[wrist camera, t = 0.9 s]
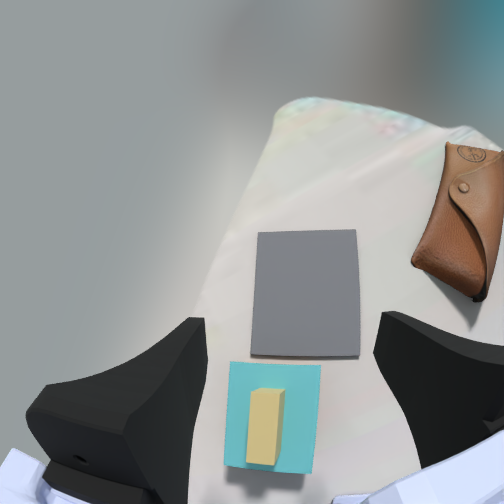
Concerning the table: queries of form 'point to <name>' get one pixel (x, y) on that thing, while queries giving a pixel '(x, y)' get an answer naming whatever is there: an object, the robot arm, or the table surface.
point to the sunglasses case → (465, 221)
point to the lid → (272, 416)
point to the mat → (306, 294)
